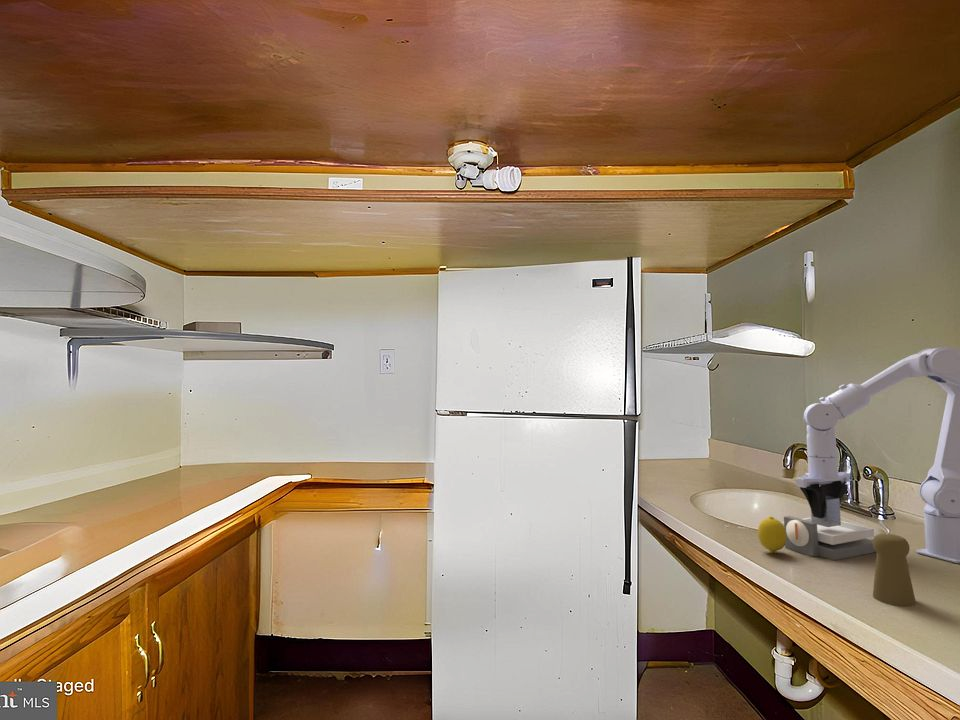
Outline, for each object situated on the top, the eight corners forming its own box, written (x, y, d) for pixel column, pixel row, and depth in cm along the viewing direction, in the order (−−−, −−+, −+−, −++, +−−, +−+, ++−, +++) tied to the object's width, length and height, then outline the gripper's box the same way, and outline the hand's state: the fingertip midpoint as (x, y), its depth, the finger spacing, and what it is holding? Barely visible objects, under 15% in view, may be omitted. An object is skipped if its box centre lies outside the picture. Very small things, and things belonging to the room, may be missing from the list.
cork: (874, 589, 100) (870, 528, 101) (916, 597, 97) (912, 533, 97) (871, 600, 96) (867, 536, 96) (915, 609, 92) (911, 542, 92)
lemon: (771, 547, 126) (769, 512, 126) (793, 554, 121) (791, 518, 121) (753, 551, 124) (751, 515, 124) (774, 558, 119) (772, 521, 119)
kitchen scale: (821, 534, 134) (819, 505, 134) (879, 551, 121) (878, 518, 121) (770, 543, 129) (769, 513, 129) (826, 561, 115) (824, 528, 116)
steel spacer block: (824, 520, 128) (823, 494, 128) (840, 525, 124) (839, 498, 124) (811, 523, 126) (810, 496, 127) (828, 527, 123) (826, 500, 123)
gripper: (828, 451, 132) (831, 508, 132) (783, 456, 127) (786, 515, 127) (857, 455, 125) (861, 515, 125) (810, 460, 120) (814, 523, 120)
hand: (825, 516), depth 125 cm, fingers closed on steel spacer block, 4 cm apart
